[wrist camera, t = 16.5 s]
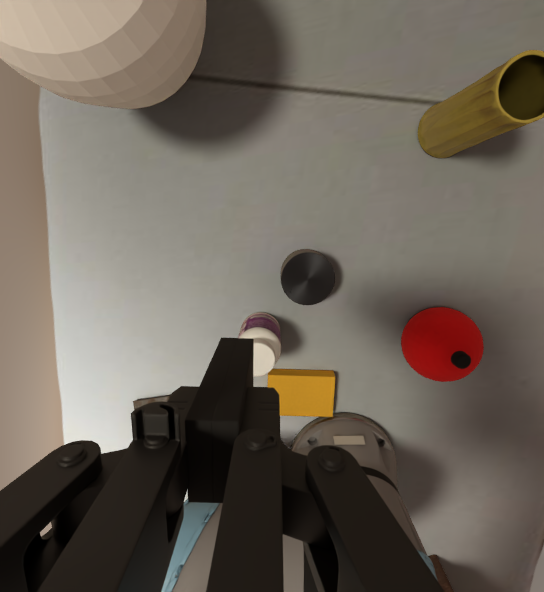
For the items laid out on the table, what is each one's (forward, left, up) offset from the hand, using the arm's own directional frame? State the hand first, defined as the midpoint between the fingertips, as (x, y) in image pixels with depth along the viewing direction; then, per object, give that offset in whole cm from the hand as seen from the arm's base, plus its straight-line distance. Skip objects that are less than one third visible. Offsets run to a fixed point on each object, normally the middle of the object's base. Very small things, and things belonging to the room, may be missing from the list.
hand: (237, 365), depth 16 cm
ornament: (-8, -22, -30) cm, 38 cm away
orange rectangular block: (-17, -6, -29) cm, 34 cm away
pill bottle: (-8, 0, -30) cm, 31 cm away
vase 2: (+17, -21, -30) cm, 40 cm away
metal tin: (0, -6, -29) cm, 30 cm away
